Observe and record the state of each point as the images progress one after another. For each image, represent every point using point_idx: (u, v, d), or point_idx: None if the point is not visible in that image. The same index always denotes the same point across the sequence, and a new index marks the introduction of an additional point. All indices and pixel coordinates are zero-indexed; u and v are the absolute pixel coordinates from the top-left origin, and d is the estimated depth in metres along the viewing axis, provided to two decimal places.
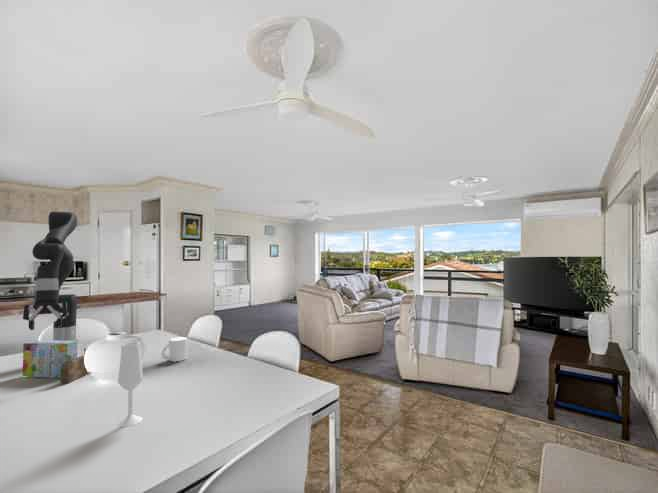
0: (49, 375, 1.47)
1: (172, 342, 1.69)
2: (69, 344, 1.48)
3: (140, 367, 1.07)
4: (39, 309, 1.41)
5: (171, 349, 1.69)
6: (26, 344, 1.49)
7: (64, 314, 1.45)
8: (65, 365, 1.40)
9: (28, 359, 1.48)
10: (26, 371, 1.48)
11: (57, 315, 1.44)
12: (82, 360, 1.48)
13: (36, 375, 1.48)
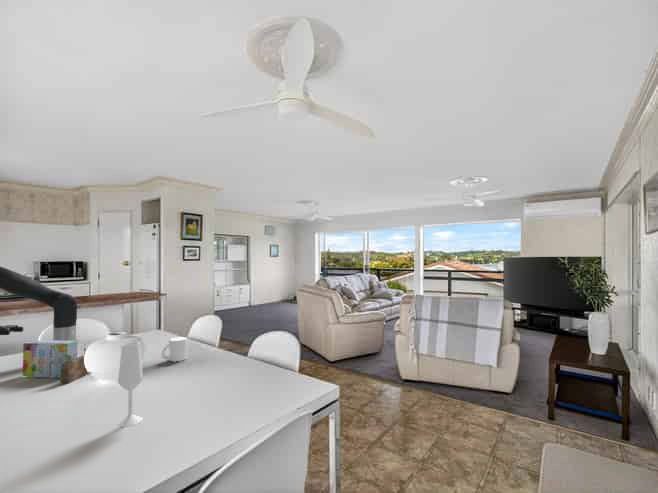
0: (49, 375, 1.47)
1: (172, 342, 1.69)
2: (69, 344, 1.48)
3: (140, 367, 1.07)
4: None
5: (171, 349, 1.69)
6: (26, 344, 1.49)
7: None
8: (65, 365, 1.40)
9: (28, 359, 1.48)
10: (26, 371, 1.48)
11: None
12: (82, 360, 1.48)
13: (36, 375, 1.48)
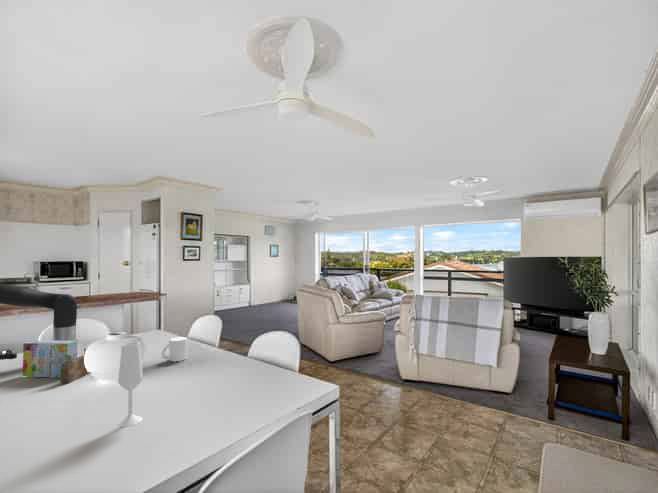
0: (49, 375, 1.47)
1: (172, 342, 1.69)
2: (69, 344, 1.48)
3: (140, 367, 1.07)
4: None
5: (171, 349, 1.69)
6: (26, 344, 1.49)
7: None
8: (65, 365, 1.40)
9: (28, 359, 1.48)
10: (26, 371, 1.48)
11: None
12: (82, 360, 1.48)
13: (36, 375, 1.48)
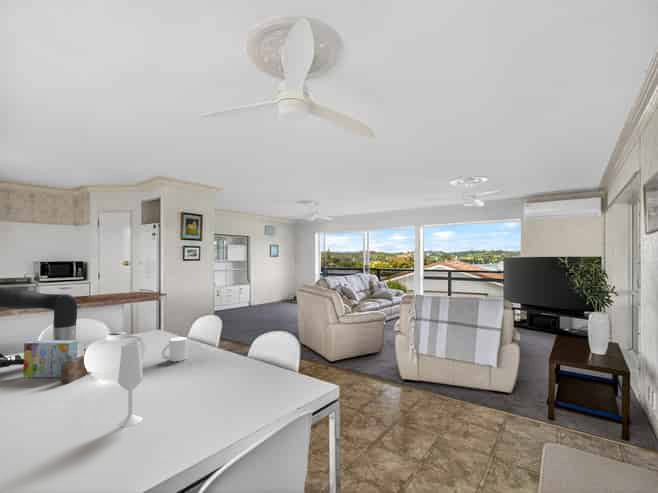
0: (50, 375, 1.47)
1: (172, 342, 1.69)
2: (70, 344, 1.48)
3: (140, 367, 1.07)
4: None
5: (171, 349, 1.69)
6: (27, 344, 1.49)
7: None
8: (65, 365, 1.40)
9: (29, 359, 1.48)
10: (27, 371, 1.48)
11: None
12: (82, 360, 1.48)
13: (37, 375, 1.48)
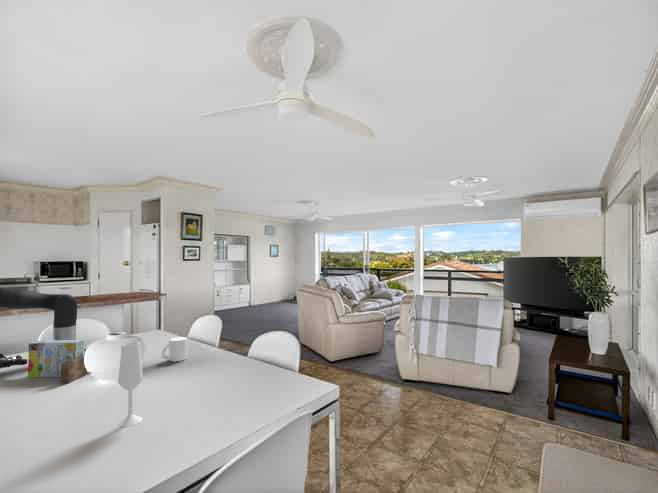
0: (56, 374, 1.48)
1: (172, 342, 1.69)
2: (77, 343, 1.49)
3: (140, 367, 1.07)
4: None
5: (171, 349, 1.69)
6: (32, 344, 1.49)
7: None
8: (65, 365, 1.40)
9: (34, 359, 1.48)
10: (32, 371, 1.48)
11: None
12: (82, 360, 1.48)
13: (43, 375, 1.48)
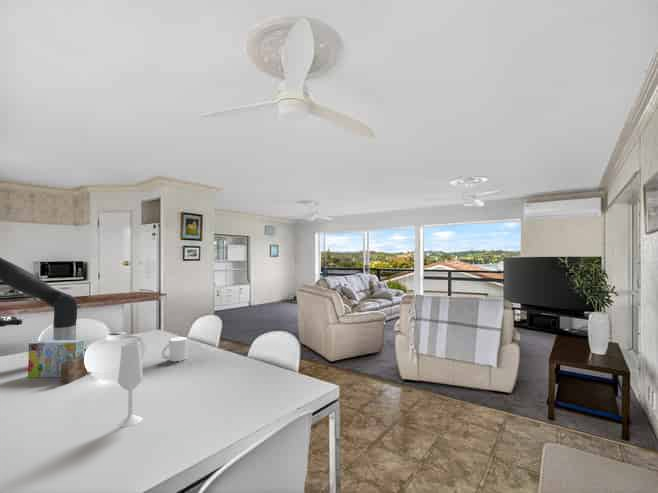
0: (56, 374, 1.48)
1: (172, 342, 1.69)
2: (77, 343, 1.49)
3: (140, 367, 1.07)
4: None
5: (171, 349, 1.69)
6: (32, 344, 1.49)
7: None
8: (65, 365, 1.40)
9: (34, 359, 1.48)
10: (32, 371, 1.48)
11: None
12: (82, 360, 1.48)
13: (43, 375, 1.48)
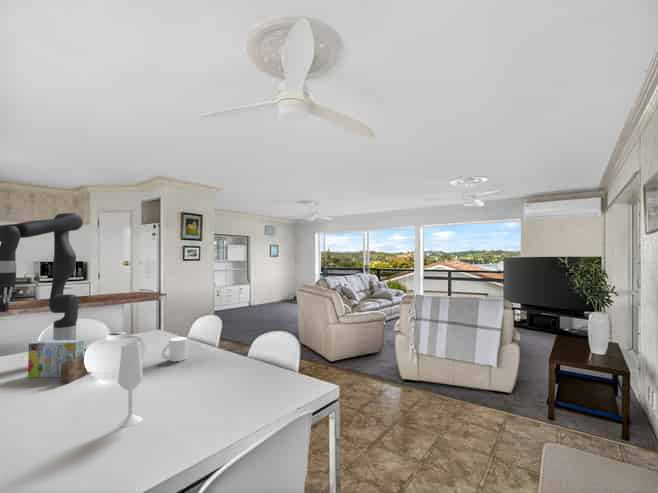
0: (56, 374, 1.48)
1: (172, 342, 1.69)
2: (77, 343, 1.49)
3: (140, 367, 1.07)
4: None
5: (171, 349, 1.69)
6: (32, 344, 1.49)
7: None
8: (65, 365, 1.40)
9: (34, 359, 1.48)
10: (32, 371, 1.48)
11: None
12: (82, 360, 1.48)
13: (43, 375, 1.48)
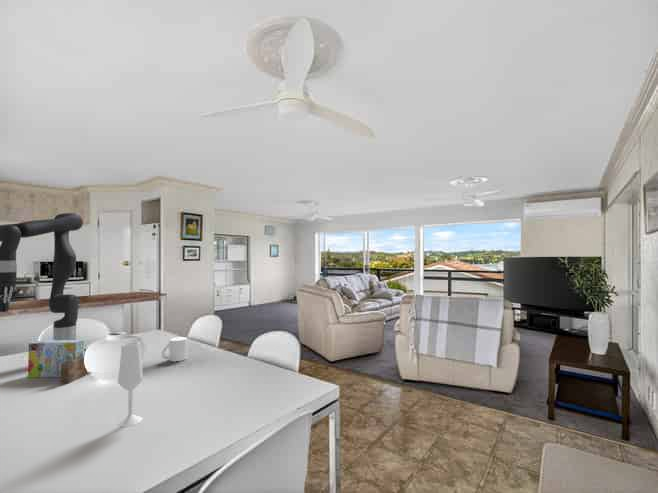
0: (56, 374, 1.48)
1: (172, 342, 1.69)
2: (77, 343, 1.49)
3: (140, 367, 1.07)
4: None
5: (171, 349, 1.69)
6: (32, 344, 1.49)
7: None
8: (65, 365, 1.40)
9: (34, 359, 1.48)
10: (32, 371, 1.48)
11: None
12: (82, 360, 1.48)
13: (43, 375, 1.48)
